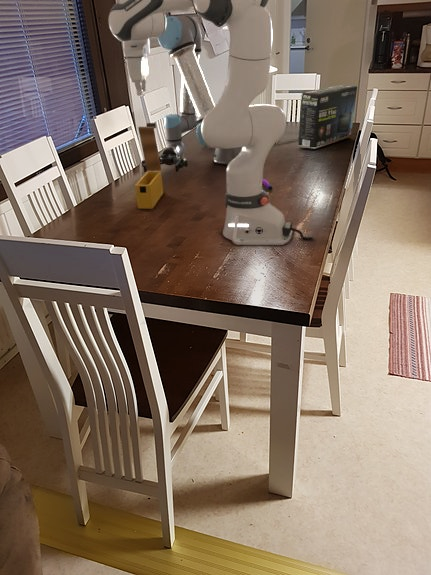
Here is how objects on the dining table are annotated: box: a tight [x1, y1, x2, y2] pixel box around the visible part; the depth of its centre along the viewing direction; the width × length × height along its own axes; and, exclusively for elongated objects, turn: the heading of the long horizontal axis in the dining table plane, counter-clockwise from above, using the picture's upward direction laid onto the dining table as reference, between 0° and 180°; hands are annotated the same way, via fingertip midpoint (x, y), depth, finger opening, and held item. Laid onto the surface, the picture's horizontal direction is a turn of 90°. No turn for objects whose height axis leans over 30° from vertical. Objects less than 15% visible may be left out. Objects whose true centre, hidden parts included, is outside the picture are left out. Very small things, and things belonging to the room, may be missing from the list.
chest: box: [134, 170, 164, 210], centre depth 177 cm, size 17×6×9 cm, turn 172°
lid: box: [137, 122, 162, 172], centre depth 177 cm, size 18×6×8 cm
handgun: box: [262, 177, 274, 192], centre depth 191 cm, size 21×8×2 cm, turn 11°
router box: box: [297, 84, 358, 151], centre depth 238 cm, size 36×11×27 cm, turn 134°
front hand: (141, 93), depth 162 cm, fingers open, 8 cm apart
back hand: (160, 168), depth 192 cm, fingers open, 13 cm apart
